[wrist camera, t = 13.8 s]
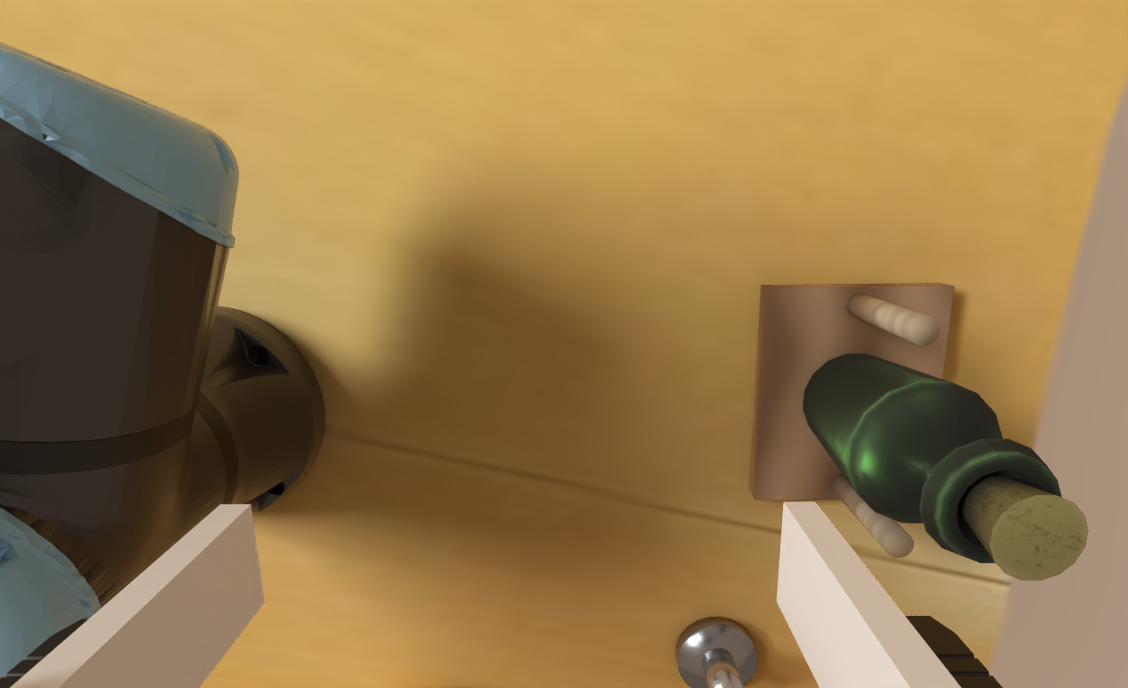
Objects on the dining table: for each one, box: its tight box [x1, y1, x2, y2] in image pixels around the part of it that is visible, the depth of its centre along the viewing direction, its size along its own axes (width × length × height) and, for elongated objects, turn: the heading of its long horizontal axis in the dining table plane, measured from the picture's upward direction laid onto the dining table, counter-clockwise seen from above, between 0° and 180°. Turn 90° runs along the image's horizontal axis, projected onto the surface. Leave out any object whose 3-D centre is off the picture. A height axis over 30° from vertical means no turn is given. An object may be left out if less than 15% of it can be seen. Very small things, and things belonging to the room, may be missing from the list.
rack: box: [750, 283, 954, 558], centre depth 40 cm, size 12×15×10 cm
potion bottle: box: [803, 353, 1088, 580], centre depth 34 cm, size 8×8×18 cm
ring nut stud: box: [676, 617, 758, 688], centre depth 47 cm, size 6×6×5 cm
